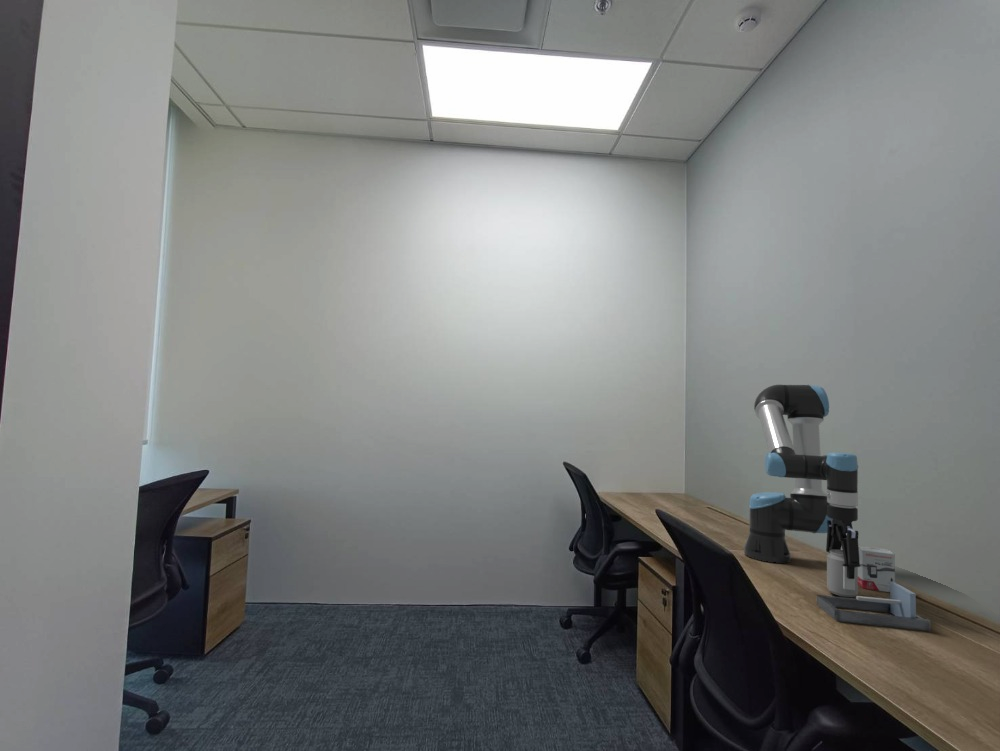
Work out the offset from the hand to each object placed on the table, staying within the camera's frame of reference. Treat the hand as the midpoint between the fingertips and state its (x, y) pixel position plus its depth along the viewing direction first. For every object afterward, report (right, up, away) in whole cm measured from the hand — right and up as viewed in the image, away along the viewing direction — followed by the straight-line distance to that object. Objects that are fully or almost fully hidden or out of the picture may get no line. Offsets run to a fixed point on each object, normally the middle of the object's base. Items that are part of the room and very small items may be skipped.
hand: (842, 584), depth 146 cm
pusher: (-1, -2, -16) cm, 16 cm away
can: (0, -3, 0) cm, 3 cm away
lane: (-3, -2, -15) cm, 16 cm away
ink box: (+16, -5, +7) cm, 18 cm away
